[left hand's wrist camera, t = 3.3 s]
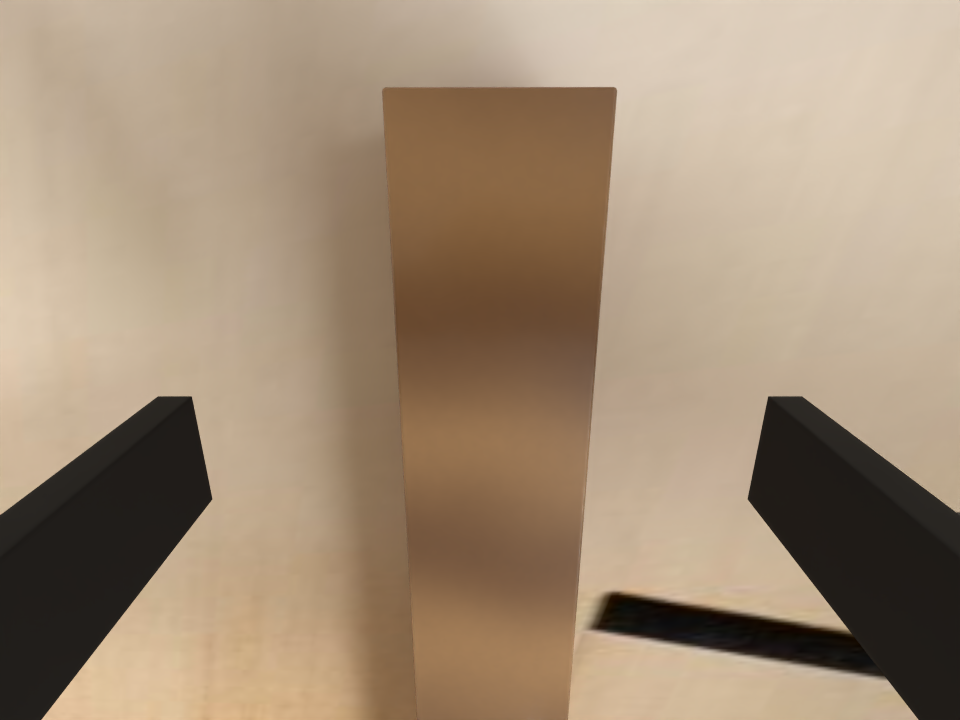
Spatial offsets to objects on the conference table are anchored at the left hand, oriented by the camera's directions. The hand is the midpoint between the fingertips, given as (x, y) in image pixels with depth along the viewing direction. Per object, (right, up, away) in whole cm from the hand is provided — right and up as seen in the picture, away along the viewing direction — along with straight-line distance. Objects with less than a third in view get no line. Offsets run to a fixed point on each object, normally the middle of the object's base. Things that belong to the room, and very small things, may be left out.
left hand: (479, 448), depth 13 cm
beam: (0, -20, +18) cm, 27 cm away
